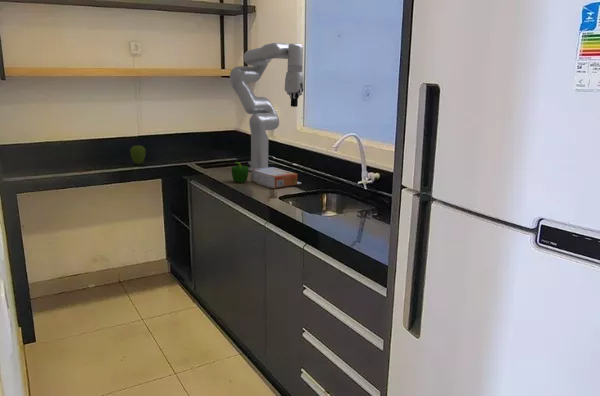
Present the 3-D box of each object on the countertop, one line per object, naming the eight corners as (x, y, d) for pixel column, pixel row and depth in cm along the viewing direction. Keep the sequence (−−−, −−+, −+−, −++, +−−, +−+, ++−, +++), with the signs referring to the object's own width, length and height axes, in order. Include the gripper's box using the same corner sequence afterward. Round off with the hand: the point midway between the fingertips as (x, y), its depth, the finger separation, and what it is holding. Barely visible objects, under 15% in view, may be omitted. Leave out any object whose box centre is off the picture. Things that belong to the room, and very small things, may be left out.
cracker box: (297, 185, 251) (272, 177, 266) (298, 173, 250) (272, 166, 265) (274, 188, 242) (249, 180, 258) (275, 176, 241) (250, 168, 256)
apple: (128, 164, 293) (127, 144, 290) (142, 162, 298) (141, 143, 296) (134, 166, 287) (133, 146, 284) (148, 165, 292) (148, 144, 289)
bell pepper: (252, 182, 257) (252, 162, 254) (240, 184, 250) (240, 164, 248) (240, 179, 262) (240, 160, 259) (228, 181, 256) (228, 162, 253)
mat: (255, 182, 255) (255, 182, 255) (283, 178, 266) (283, 177, 266) (273, 188, 245) (273, 187, 245) (301, 183, 256) (301, 182, 256)
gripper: (279, 68, 258) (279, 105, 263) (299, 69, 248) (298, 107, 252) (291, 69, 263) (290, 105, 268) (310, 69, 252) (309, 107, 257)
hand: (294, 106), depth 260 cm, fingers closed
